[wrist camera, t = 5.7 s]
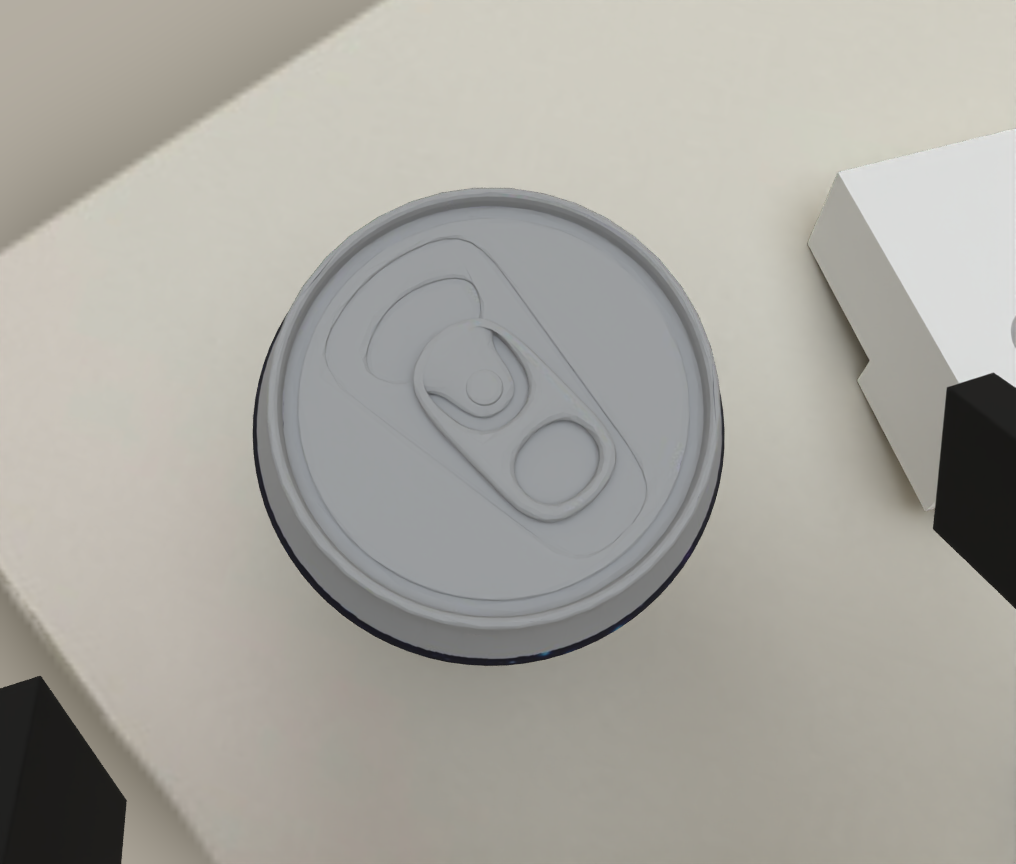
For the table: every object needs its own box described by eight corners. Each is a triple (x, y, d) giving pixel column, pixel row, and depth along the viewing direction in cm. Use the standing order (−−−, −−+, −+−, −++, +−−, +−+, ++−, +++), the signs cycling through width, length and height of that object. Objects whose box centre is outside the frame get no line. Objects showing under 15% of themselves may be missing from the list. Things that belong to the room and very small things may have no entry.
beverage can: (478, 355, 23) (504, 59, 11) (646, 527, 22) (865, 408, 10) (298, 518, 22) (113, 385, 10) (469, 703, 21) (487, 793, 9)
